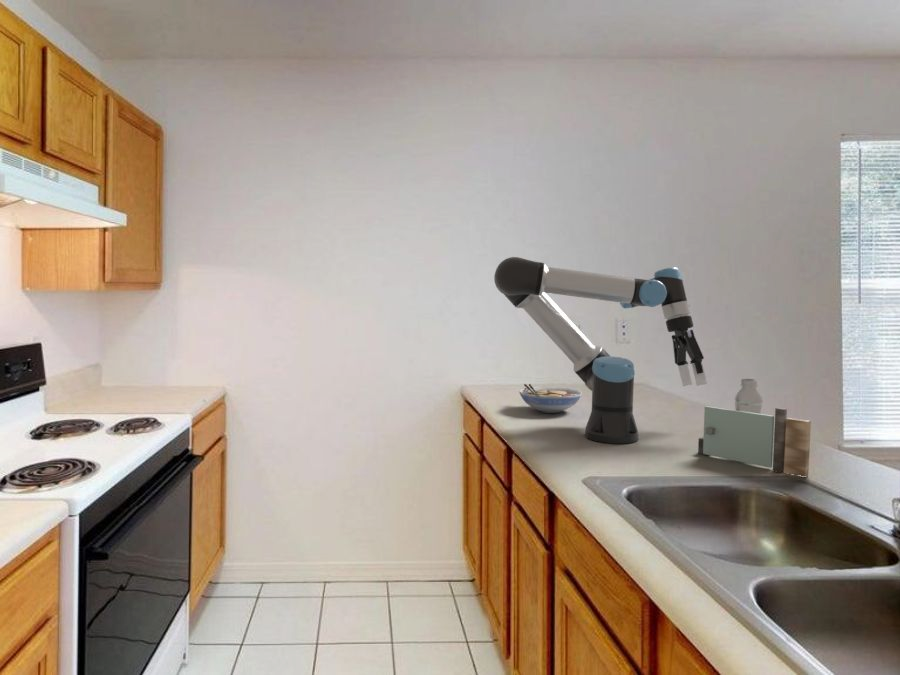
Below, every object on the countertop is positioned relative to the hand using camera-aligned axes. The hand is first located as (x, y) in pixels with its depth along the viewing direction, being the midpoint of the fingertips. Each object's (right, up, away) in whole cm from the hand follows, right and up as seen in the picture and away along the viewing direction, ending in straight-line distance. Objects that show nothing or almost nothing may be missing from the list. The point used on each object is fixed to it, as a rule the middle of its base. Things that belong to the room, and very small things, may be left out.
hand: (694, 385), depth 174 cm
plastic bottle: (+4, -17, -23) cm, 29 cm away
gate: (-3, -16, -31) cm, 35 cm away
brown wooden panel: (0, -17, -31) cm, 36 cm away
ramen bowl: (-38, -13, +34) cm, 53 cm away
